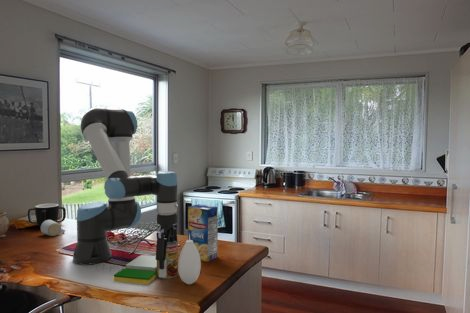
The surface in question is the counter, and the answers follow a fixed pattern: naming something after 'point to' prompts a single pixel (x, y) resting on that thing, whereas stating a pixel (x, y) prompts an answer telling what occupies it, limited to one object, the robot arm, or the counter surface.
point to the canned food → (170, 260)
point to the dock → (143, 263)
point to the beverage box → (204, 230)
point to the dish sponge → (135, 276)
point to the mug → (46, 213)
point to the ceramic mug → (51, 228)
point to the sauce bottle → (189, 262)
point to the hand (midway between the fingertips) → (167, 272)
